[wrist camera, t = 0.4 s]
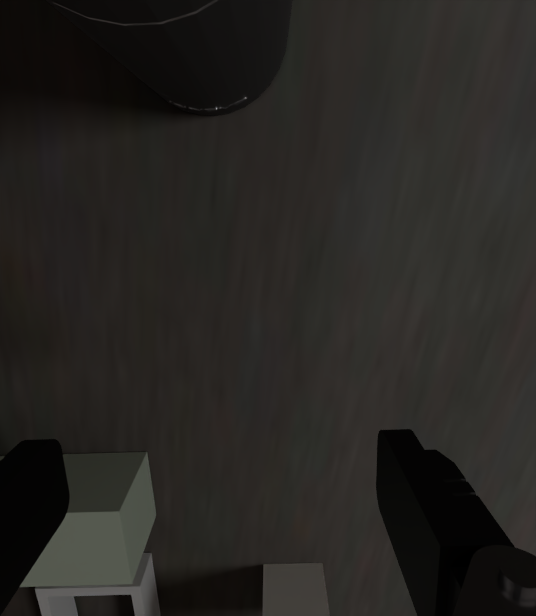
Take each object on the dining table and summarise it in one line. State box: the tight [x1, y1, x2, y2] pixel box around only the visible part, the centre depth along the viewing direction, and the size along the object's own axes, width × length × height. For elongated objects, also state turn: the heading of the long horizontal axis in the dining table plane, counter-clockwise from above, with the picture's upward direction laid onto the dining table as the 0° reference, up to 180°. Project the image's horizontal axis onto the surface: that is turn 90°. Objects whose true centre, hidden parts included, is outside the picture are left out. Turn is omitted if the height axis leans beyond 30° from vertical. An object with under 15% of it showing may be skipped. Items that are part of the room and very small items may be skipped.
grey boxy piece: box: [0, 452, 161, 616], centre depth 31 cm, size 18×14×6 cm
